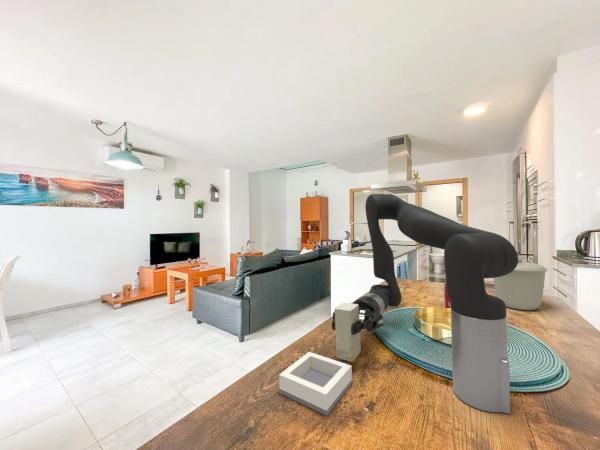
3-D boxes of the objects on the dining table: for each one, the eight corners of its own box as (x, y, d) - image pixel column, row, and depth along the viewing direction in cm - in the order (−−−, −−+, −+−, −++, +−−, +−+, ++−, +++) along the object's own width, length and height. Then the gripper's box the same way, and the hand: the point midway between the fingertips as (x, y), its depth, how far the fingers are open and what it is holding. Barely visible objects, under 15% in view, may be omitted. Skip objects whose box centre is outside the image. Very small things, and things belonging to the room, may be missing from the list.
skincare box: (352, 362, 59) (350, 311, 59) (335, 358, 62) (333, 308, 62) (361, 351, 65) (359, 303, 65) (345, 347, 67) (343, 301, 67)
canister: (486, 306, 104) (484, 256, 104) (495, 297, 116) (494, 252, 116) (547, 317, 91) (545, 259, 91) (550, 306, 103) (548, 254, 103)
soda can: (469, 313, 97) (468, 282, 97) (451, 314, 97) (450, 283, 97) (458, 307, 104) (457, 278, 104) (441, 308, 104) (440, 279, 104)
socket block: (352, 383, 56) (351, 365, 56) (326, 416, 47) (326, 394, 47) (309, 367, 63) (308, 351, 63) (279, 393, 54) (279, 374, 54)
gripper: (345, 292, 79) (317, 308, 65) (392, 299, 71) (370, 318, 57) (346, 316, 79) (318, 337, 65) (393, 325, 71) (372, 351, 57)
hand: (343, 328), depth 61 cm, fingers closed on skincare box, 4 cm apart
